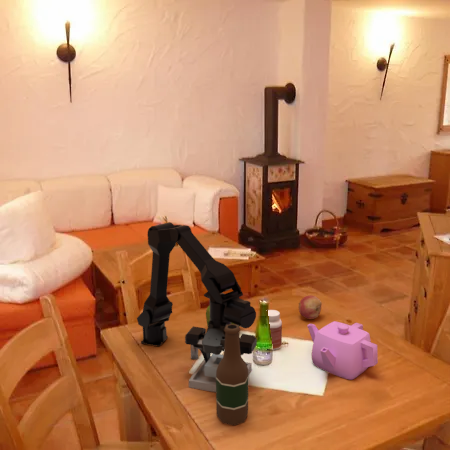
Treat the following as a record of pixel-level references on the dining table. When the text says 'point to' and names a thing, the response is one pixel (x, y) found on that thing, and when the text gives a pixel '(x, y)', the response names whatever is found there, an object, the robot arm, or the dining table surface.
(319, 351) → the teakettle
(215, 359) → the ring
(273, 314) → the pill bottle
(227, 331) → the beer bottle
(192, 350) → the brown rounded cylinder
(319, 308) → the fruit
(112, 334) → the dining table surface
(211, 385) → the tray
